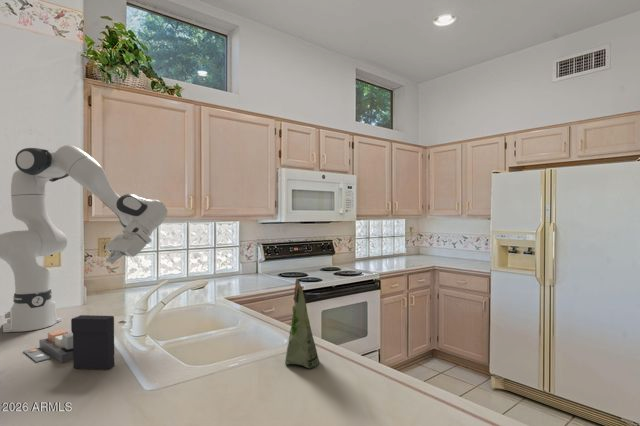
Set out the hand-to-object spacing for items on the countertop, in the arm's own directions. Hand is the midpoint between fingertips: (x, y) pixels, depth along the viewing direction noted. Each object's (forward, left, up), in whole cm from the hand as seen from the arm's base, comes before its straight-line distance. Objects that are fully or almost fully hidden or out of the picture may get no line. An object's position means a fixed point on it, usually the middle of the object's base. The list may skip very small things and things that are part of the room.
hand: (108, 262), depth 135 cm
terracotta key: (-4, -15, -26) cm, 31 cm away
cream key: (+3, -15, -26) cm, 30 cm away
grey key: (+10, -15, -24) cm, 30 cm away
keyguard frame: (+3, -15, -27) cm, 31 cm away
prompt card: (0, -22, -27) cm, 35 cm away
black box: (+25, -14, -28) cm, 40 cm away
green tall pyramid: (+72, +25, -28) cm, 81 cm away
